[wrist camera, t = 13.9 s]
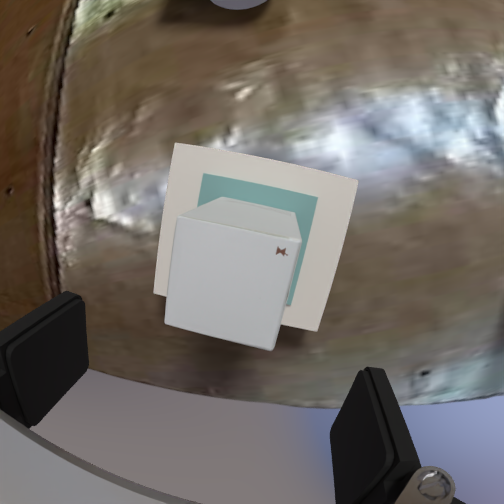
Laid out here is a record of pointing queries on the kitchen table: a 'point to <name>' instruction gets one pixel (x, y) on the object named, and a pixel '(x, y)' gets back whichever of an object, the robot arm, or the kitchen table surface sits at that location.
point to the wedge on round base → (238, 3)
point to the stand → (273, 195)
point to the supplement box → (232, 271)
